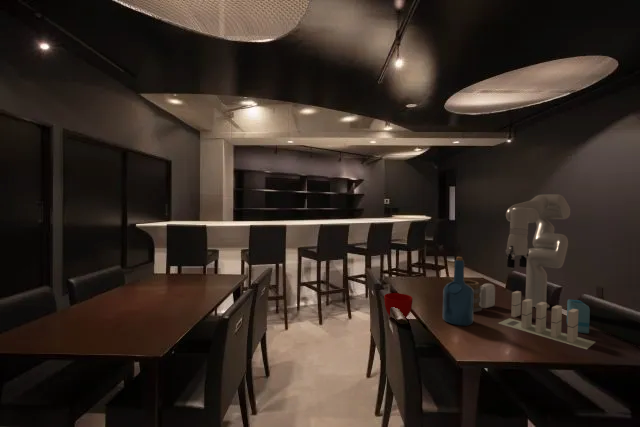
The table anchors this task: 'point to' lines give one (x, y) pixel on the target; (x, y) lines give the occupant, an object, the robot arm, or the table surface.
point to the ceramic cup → (398, 302)
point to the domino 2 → (526, 313)
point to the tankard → (476, 292)
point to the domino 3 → (541, 317)
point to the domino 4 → (556, 321)
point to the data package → (580, 314)
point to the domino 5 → (572, 325)
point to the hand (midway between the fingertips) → (516, 267)
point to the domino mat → (548, 334)
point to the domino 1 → (516, 304)
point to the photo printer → (487, 296)
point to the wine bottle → (458, 298)
